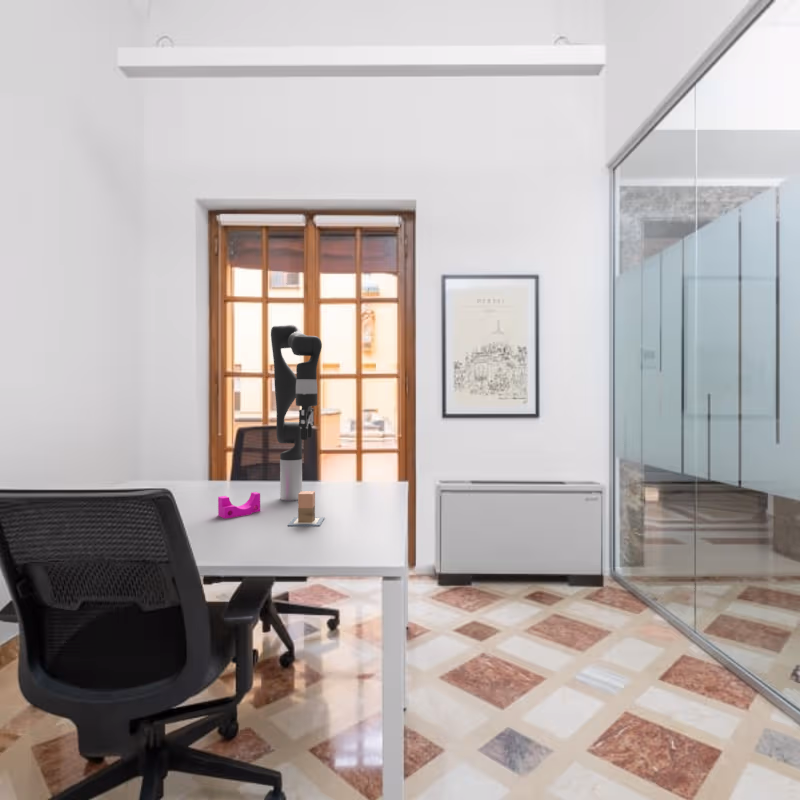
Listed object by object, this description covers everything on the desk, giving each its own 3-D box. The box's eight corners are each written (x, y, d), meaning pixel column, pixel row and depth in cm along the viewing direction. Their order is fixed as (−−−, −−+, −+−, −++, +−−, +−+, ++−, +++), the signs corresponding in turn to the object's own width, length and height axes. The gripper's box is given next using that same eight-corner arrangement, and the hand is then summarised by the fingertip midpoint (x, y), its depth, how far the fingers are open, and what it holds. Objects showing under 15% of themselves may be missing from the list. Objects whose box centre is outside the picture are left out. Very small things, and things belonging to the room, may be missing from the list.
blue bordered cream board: (294, 519, 194) (294, 516, 194) (324, 519, 193) (324, 517, 193) (287, 527, 183) (287, 524, 183) (319, 527, 182) (319, 524, 182)
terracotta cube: (301, 505, 190) (301, 491, 190) (315, 505, 190) (315, 491, 190) (298, 508, 185) (298, 493, 185) (312, 508, 185) (312, 493, 185)
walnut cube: (301, 519, 191) (301, 505, 190) (314, 519, 190) (314, 505, 190) (298, 522, 186) (298, 508, 185) (312, 522, 185) (312, 508, 185)
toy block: (224, 519, 194) (224, 499, 193) (218, 516, 198) (218, 496, 198) (263, 513, 203) (263, 494, 203) (256, 511, 208) (255, 491, 208)
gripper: (300, 392, 194) (300, 436, 195) (291, 392, 180) (291, 440, 180) (320, 392, 194) (320, 436, 194) (313, 392, 180) (313, 440, 180)
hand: (306, 438), depth 187 cm, fingers open, 8 cm apart
